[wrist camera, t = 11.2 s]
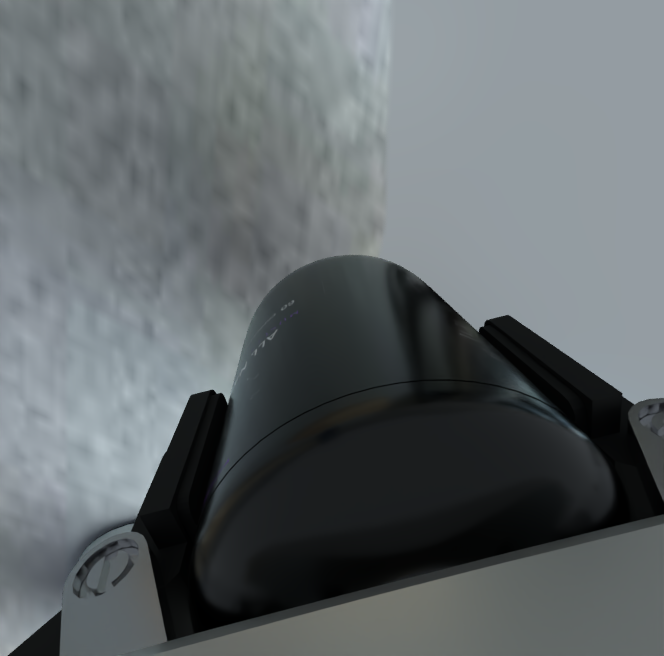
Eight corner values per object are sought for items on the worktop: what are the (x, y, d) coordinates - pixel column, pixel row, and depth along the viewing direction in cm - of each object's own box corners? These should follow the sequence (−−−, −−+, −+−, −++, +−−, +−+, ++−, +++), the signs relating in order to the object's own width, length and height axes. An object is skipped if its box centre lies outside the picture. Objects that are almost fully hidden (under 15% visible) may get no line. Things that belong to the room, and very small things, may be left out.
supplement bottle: (220, 272, 12) (-384, 1225, 1) (437, 232, 13) (1559, 748, 1) (269, 449, 15) (215, 1256, 4) (447, 414, 15) (875, 1084, 4)
